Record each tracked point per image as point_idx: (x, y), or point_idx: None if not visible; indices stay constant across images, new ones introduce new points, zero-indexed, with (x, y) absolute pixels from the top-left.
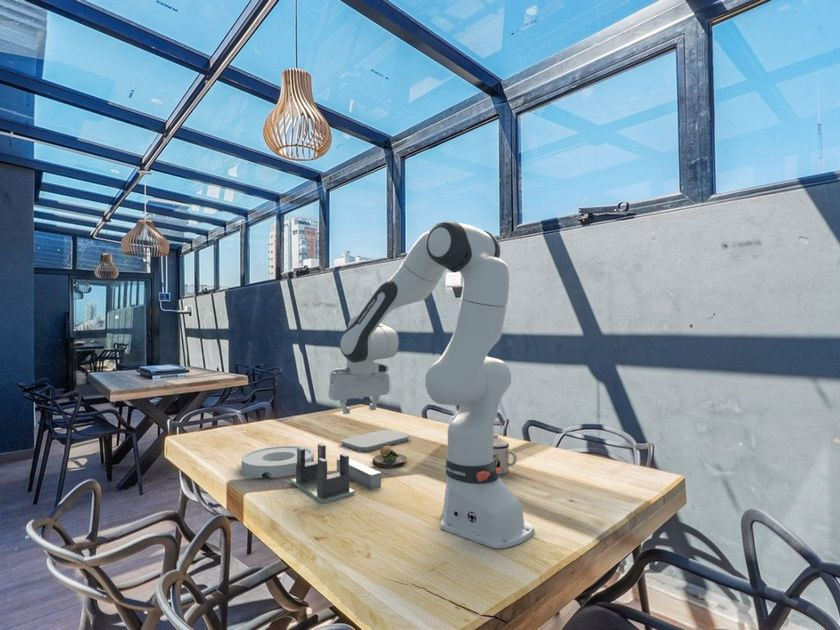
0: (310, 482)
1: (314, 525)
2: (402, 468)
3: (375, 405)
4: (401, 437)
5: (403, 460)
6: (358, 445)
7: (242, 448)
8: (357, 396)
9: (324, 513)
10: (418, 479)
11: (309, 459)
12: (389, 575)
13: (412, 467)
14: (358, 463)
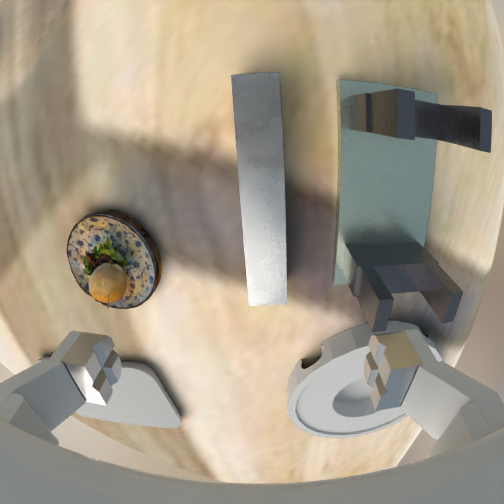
0: (400, 228)
1: (470, 23)
2: (101, 194)
3: (59, 354)
4: None
5: (78, 242)
6: (154, 387)
7: (345, 457)
8: (343, 500)
9: (443, 46)
10: (108, 82)
11: (330, 356)
12: None
13: (76, 185)
14: (249, 217)
